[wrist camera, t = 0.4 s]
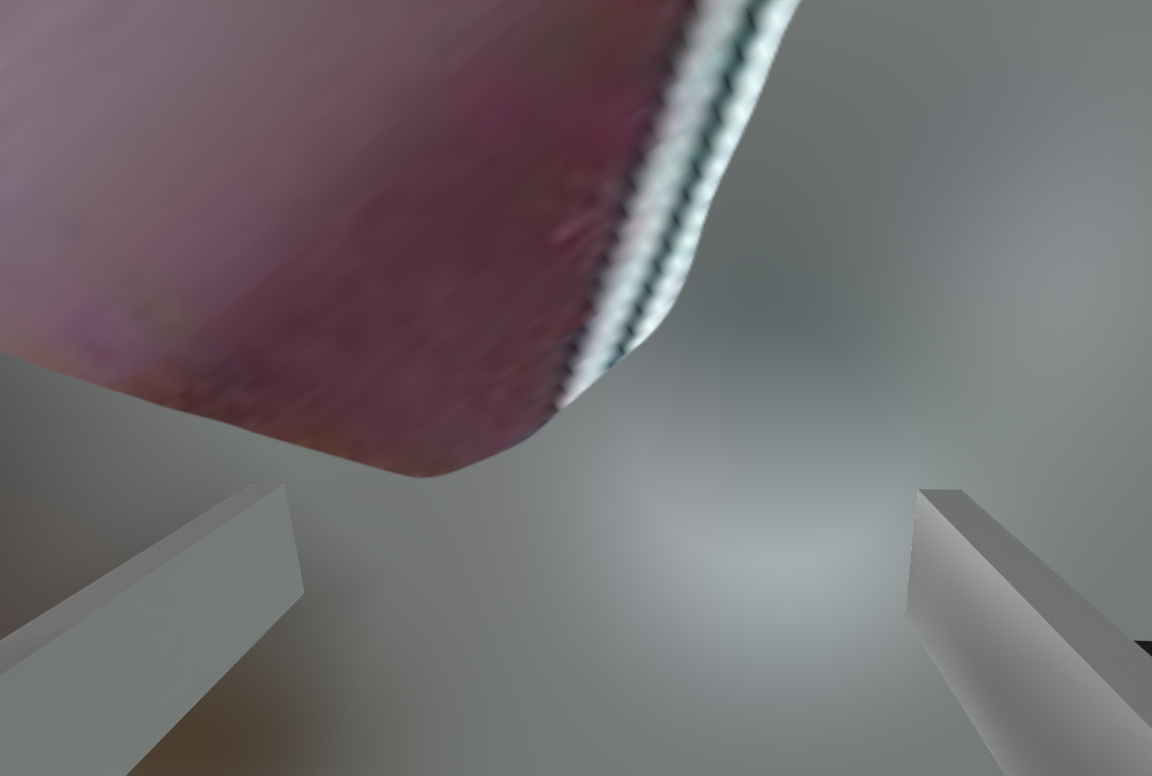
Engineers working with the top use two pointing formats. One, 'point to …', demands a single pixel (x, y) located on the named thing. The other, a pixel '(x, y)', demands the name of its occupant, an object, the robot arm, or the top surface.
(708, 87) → the top surface
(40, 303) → the top surface
